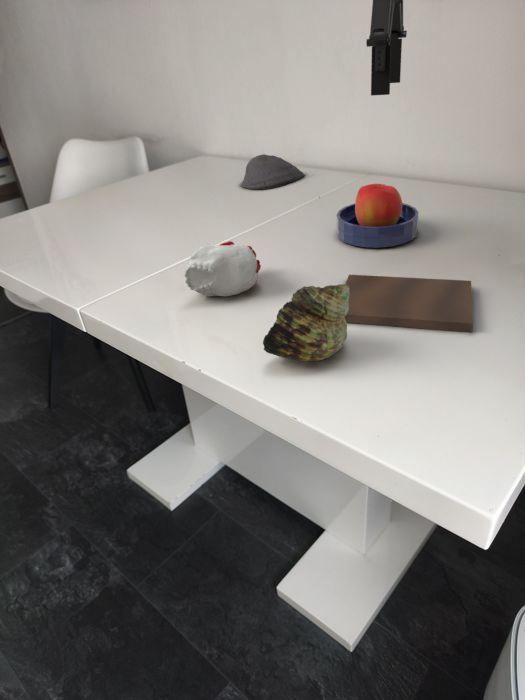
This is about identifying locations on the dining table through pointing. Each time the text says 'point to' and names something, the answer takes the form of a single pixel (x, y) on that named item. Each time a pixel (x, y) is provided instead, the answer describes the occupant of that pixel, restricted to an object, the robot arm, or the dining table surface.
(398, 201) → the apple
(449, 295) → the board
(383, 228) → the bowl
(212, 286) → the white rounded lumpy piece
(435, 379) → the dining table surface
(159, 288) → the dining table surface
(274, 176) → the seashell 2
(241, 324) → the dining table surface
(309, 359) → the seashell
